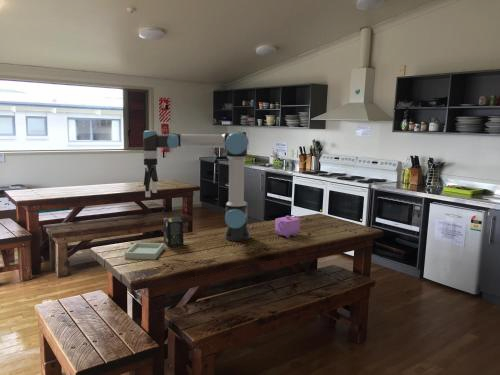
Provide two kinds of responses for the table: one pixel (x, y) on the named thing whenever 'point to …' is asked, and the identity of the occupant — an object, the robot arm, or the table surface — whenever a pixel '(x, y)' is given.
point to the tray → (144, 250)
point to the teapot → (287, 226)
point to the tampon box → (173, 231)
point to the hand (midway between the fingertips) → (151, 194)
